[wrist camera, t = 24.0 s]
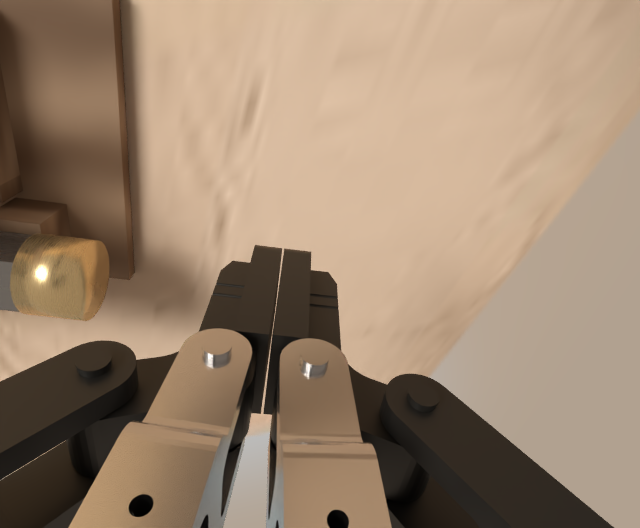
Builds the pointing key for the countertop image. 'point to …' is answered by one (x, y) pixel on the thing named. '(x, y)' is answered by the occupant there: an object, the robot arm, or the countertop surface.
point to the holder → (65, 124)
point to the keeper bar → (52, 275)
